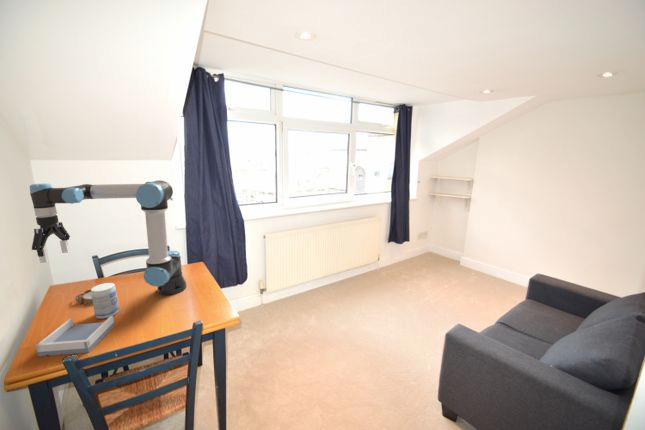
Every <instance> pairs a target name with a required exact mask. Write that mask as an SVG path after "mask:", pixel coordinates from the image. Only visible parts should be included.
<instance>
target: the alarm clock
mask: <svg viewBox="0 0 645 430" xmlns="http://www.w3.org/2000/svg"><path fill="white" fill-rule="evenodd" d="M74 298H75V301H76V302H77V303H78V304H80V305H82V304H84V305H93V301H92V296H91V289H87V290H85V291H84V292H83V293H81V294H77V295H76V296H75V297H74Z"/></svg>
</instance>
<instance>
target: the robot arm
mask: <svg viewBox="0 0 645 430" xmlns="http://www.w3.org/2000/svg"><path fill="white" fill-rule="evenodd" d="M173 191H174V190H173V187H172V186H171V184H170V183H169V182H167V181H165V180H155V181H146V182H144V183H120V184H117V183H115V184H114V183H113V184H106V183H105V184H91V183H89V184H88V183H85V184H80V185H72V186H68V187H66V186H65V187H53V186H52V184H50V183H46V182H45V183H33V184H30V185H29V195H30V198H31V201H32V205H33V206H32V207H33V210H34V215H35V220H36V224H37V225H38V226H39V228H34V229H33V232H34V235H33V238H32V239H33V240H32V244H31V251H36V252H37V257H38V258H39V259H38V260H39V262H40V263H41V264H42V263H48V262H49V261H48V256H47V252H46V248H45V246H46V243H47V240H48V238H49V237H50V236H51V235H55V237H57V238H58V239H59V244H60V245H59V246H60V248H61V250H60V251H61V253H62V254H64V253H65V254H66V253H69V246H68V245H69V244H68V241H69V240H70V237H71V235H70V234H69V232H68V231H67V230H66V228H65V227H64V225H63V222H61V221H60V222H59V217H58V215H57V214H58V211H57V208H56V204H79V203H82V201H83V200H100V199H104V200H107V199H136V201H137V203H138V204H139V205H140V210H141V211H143V212H144V214H145V224H146V225H145V227H146V238H147V247H148V248H147V249H148V250H147V251H148V258H147V259H146V260H145V264H146V269H144V270H145V271H144V272H143V274H142V275H143V280H144V282H145V283H146V284H148V285H149V286H152V287H157V293H158V294H159V295H162V296H164V295H165V296H167V295H168V296H169V295H175V294H178V293H180V292H183V291H184V290H186V289H187V281H186V279H185V278H184V276H183V269H182V258H181V257H182V256H181V253H180V251H178V250H168V239H167V237H168V236H167V223H166V213H165V212H166V211H167V210H168V208H169V205H168V201H169V200H170V199H171V198H172V196H173V194H174V192H173Z"/></svg>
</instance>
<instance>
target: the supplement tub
mask: <svg viewBox="0 0 645 430" xmlns="http://www.w3.org/2000/svg"><path fill="white" fill-rule="evenodd" d="M90 290H91V296H92V301H93V304H92V305H93V312H94V316H95V317H96V319H99V320H100V319H101V320H102V319H104V320H105V319H108V318H109V317H110V316H113V317H114V316H115V315H117V314H118V313H119V310H120V308H119V307H120V306H119V302H118V294H117V288H116V284H115V283H113V282H107V283H101V284H97V285H95V286H93V287H92V288H91V289H90Z"/></svg>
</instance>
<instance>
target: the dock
mask: <svg viewBox="0 0 645 430" xmlns="http://www.w3.org/2000/svg"><path fill="white" fill-rule="evenodd" d="M114 327H115V320H114V315H113V316H110V317H108V318H106V320H104V322H94V323H79V324H78V323H76V324H74V320H73V318H69V319H67V320H66V321H64V323H62V324H61V325H60V326H59V327H57V328H55V330H53V331H52V332H51V333H49V335H47V336H45V338H43V339H42V340H41V341H40V342H38V343H37V344H36V345H35V347H36V348H35V349H36V352H37V356H39V357H47V356H46V355H50V356H51V357H52V356H61V355H60V354H63V355H73V354H74V353H75V354H84V353H85V354H87V353H90V352H91V351H92V350H93V349H94V348H95V347H96V346H97V345H98V344H99V343H100V341H102V339H103V338H105V336H107V334H108V333H109V332H110V331H111V330H112V329H113V328H114ZM75 354H74V355H75Z"/></svg>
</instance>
